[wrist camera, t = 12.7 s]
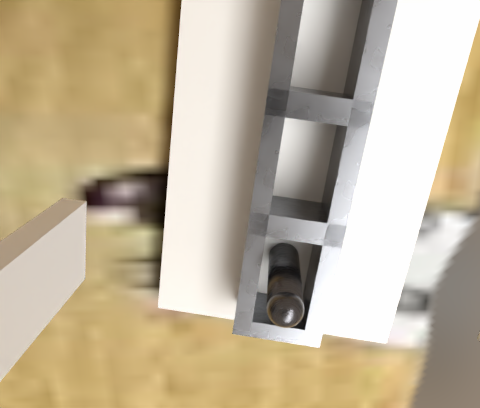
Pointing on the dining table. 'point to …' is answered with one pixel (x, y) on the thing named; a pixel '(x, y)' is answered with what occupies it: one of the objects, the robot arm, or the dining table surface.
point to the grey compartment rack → (338, 176)
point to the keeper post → (284, 286)
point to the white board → (305, 149)
